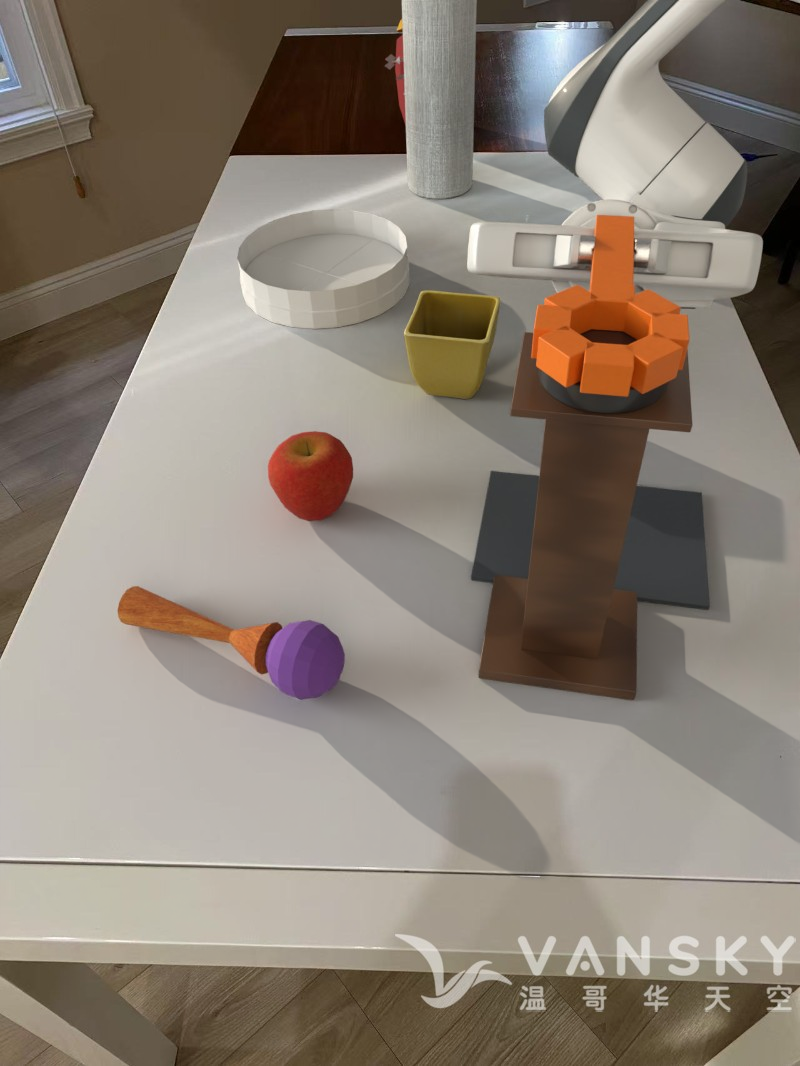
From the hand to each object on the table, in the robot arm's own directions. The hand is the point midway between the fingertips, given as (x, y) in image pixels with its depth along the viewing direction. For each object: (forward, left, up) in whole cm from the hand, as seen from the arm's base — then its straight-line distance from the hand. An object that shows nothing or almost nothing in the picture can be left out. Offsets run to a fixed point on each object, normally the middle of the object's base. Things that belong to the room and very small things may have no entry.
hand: (614, 251), depth 53 cm
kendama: (+26, +15, -29) cm, 42 cm away
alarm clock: (+32, -98, -29) cm, 107 cm away
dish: (+34, -44, -29) cm, 63 cm away
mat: (-2, -3, -29) cm, 29 cm away
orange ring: (0, +4, -1) cm, 5 cm away
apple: (+24, -3, -29) cm, 38 cm away
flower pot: (+14, -24, -29) cm, 40 cm away
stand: (0, +9, -29) cm, 31 cm away
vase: (+24, -75, -29) cm, 84 cm away
